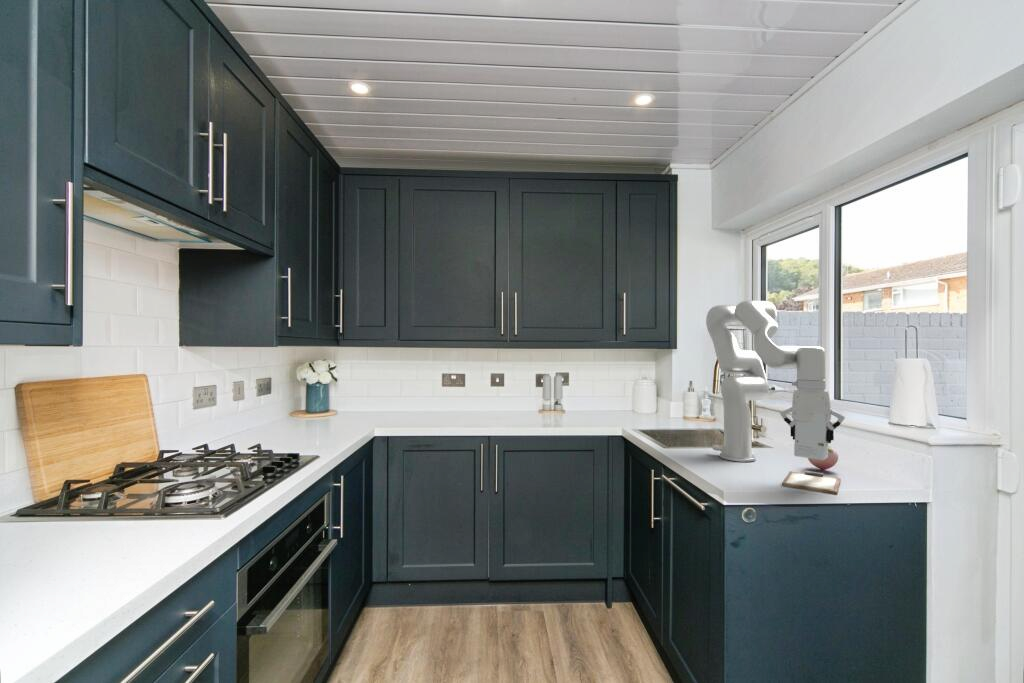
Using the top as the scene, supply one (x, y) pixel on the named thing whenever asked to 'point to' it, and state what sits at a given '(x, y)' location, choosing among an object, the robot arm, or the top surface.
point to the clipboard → (812, 482)
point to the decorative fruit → (826, 460)
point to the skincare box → (812, 437)
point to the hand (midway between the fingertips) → (811, 440)
